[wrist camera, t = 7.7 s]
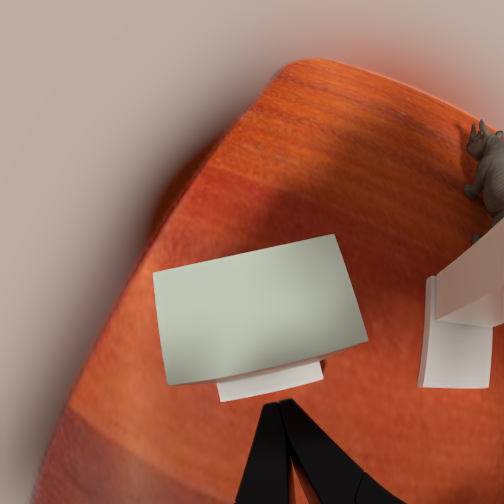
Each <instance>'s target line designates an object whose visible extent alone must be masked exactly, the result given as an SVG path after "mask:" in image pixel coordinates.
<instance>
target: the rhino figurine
mask: <svg viewBox="0 0 504 504" xmlns="http://www.w3.org/2000/svg"><path fill="white" fill-rule="evenodd" d="M479 129H480V130H481V131H482V133H483V135H482V134H481V131H480V130H479V132H478V134H476V129H475V122H474V123H473V125H472V129H471V135H470V140H469V143H468V144H467V145H466V146H467V148H466V150H467V151H468V153H469V154H470V155H471V156H472V157H473V158H475V159H476V160H477V161H479V164H478V165H477V170H476V174H475V181H474V184H473V185H469V184H467V185H465V186H464V192H465V194H466V195H467V196H468V197H469V198H470V199H472V200H475V199H476V198H477V196H478V194H479V193H480V192H481V191H482V190H483V188H484V190H483V200H484V205H485V206H486V209H487V211H488V212H489V214H490V215H491V217H492V218H493V219H492V223H491V228H490V230H491V229H492V228H493V227H494V226H495V225H496V224H497V223H498V222H499V221H500V220H502V219H503V218H504V140H502V138H503V134H504V133H503V131H497V132H496V134H494V133H492V132H490V131H488V129H487V128H486V126H485V124H484V122H483V120H482V119H481V120H480V123H479ZM482 237H483V236H481V235H480V234H475V235H474V236H473V240H472V245H474V244H475V243H476V242H477V241H478V240H479V239H481V238H482Z"/></svg>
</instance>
